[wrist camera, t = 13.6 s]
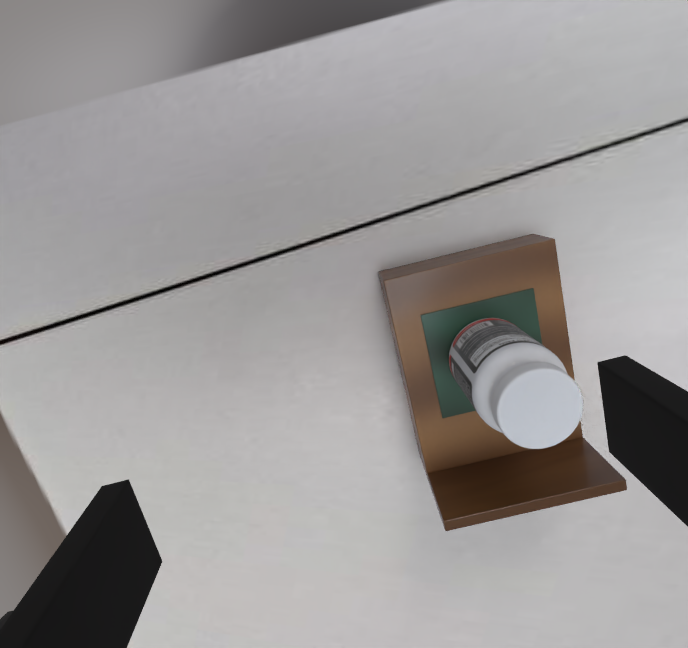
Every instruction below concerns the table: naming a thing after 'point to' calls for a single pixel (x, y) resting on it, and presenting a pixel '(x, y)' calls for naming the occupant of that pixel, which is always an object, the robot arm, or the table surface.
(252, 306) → the table surface
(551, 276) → the shelf
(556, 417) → the pill bottle
